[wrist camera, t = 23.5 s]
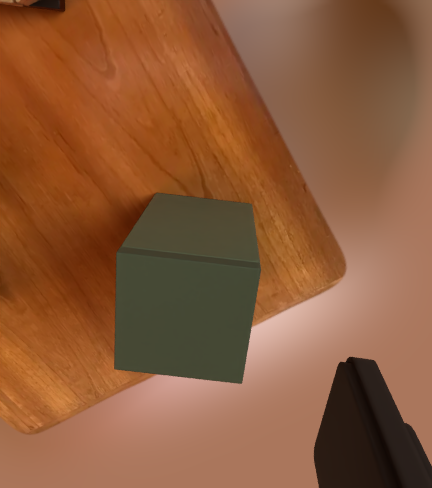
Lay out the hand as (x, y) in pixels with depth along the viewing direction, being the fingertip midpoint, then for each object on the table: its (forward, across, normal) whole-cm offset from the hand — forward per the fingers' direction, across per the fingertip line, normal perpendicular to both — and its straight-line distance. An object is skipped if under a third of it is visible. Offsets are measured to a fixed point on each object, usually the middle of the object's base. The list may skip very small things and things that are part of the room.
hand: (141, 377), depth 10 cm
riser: (+29, +1, +8) cm, 30 cm away
